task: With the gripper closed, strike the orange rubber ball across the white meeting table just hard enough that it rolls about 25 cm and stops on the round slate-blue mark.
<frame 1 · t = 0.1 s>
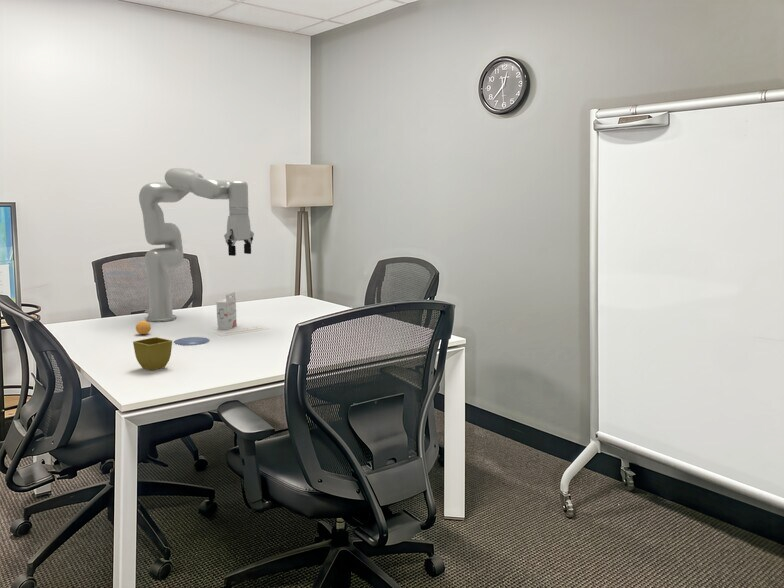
hand: (240, 254, 258), 31 cm above the table, tool pointing down, fingers open, 9 cm apart
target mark: (191, 341, 241), on the table
ball: (143, 327, 251), on the table
ink cartridge box: (227, 328, 266), on the table
flower pot: (154, 368, 204), on the table
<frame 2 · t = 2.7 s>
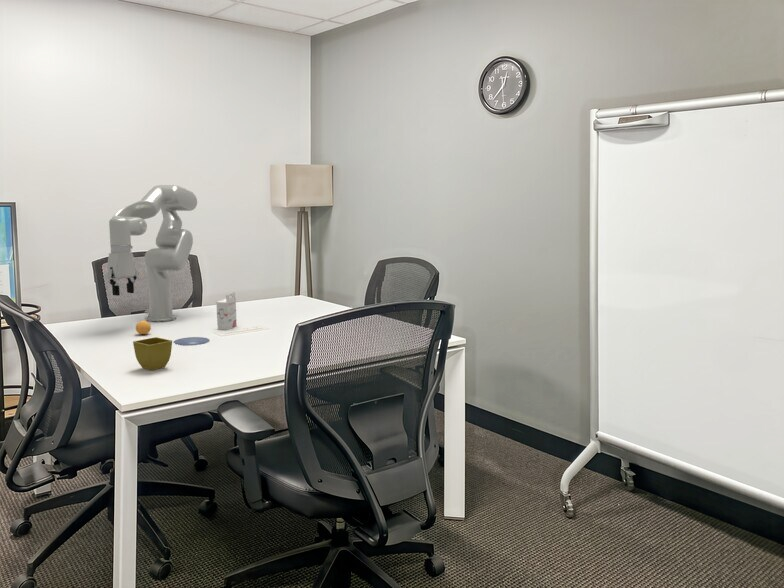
hand: (123, 293, 253), 16 cm above the table, tool pointing down, fingers open, 6 cm apart
nothing on the table moved.
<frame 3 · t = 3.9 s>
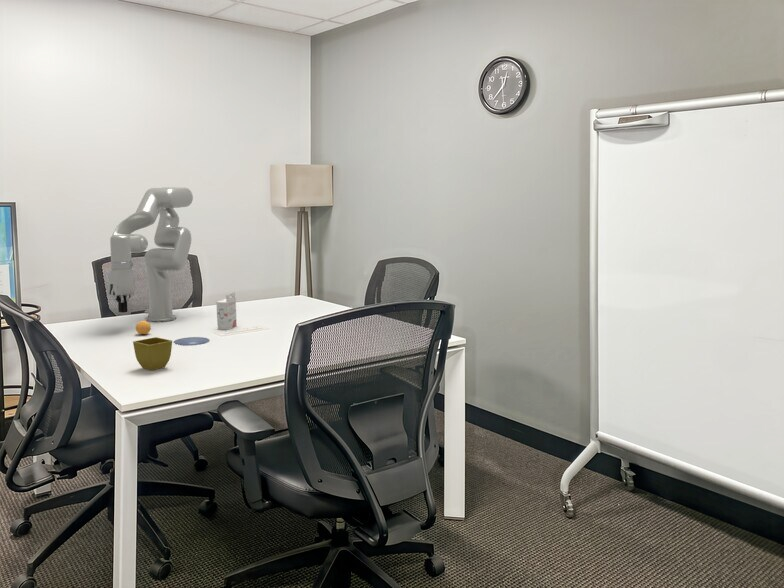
hand: (123, 311, 254), 8 cm above the table, tool pointing down, fingers closed
nothing on the table moved.
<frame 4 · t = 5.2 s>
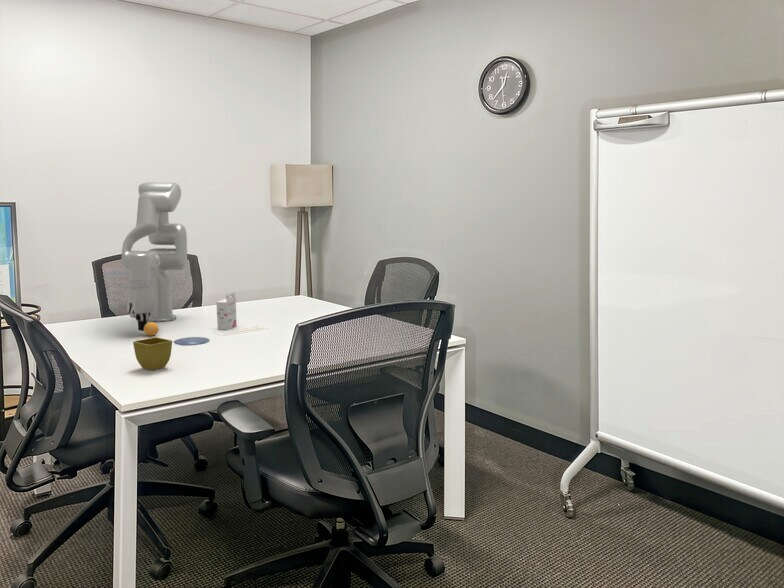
hand: (142, 330, 251), 2 cm above the table, tool pointing down, fingers closed
ball: (151, 328, 249), on the table
everything else where it was.
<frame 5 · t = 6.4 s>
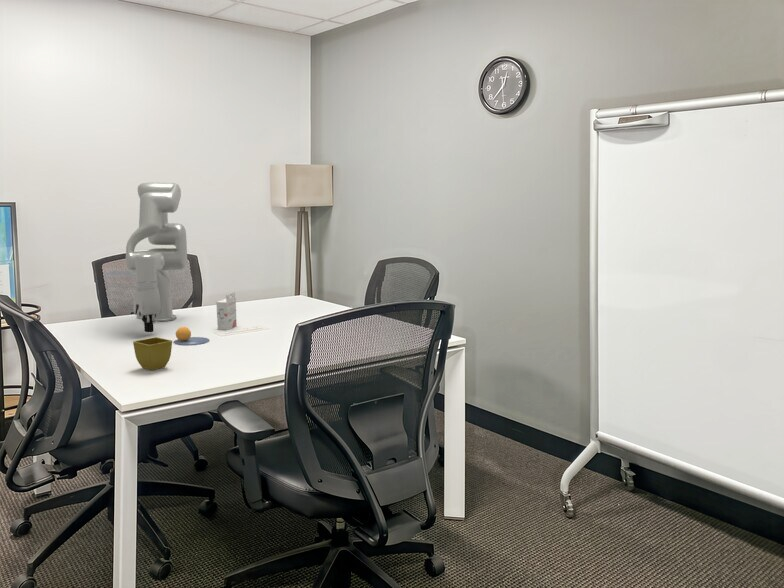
hand: (149, 331, 250), 2 cm above the table, tool pointing down, fingers closed
ball: (183, 334, 241), on the table
everything else where it was.
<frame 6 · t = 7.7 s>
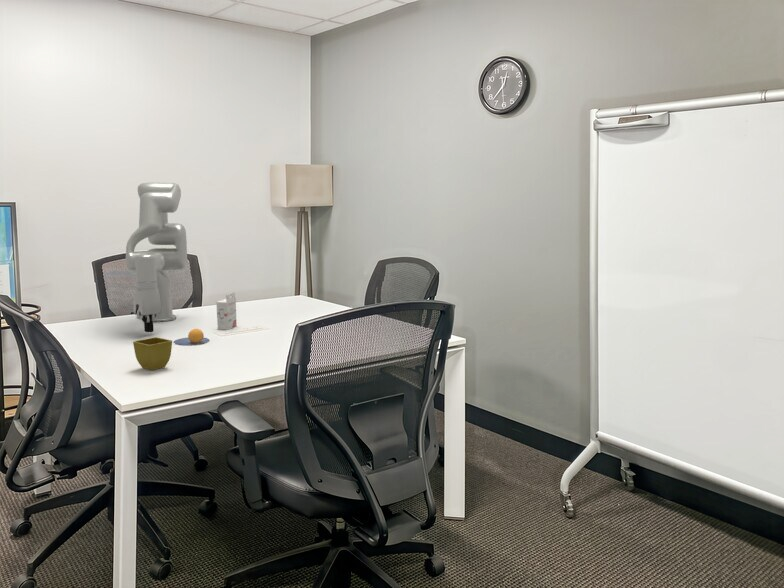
hand: (149, 331, 250), 2 cm above the table, tool pointing down, fingers closed
ball: (196, 335, 238), on the table
everything else where it was.
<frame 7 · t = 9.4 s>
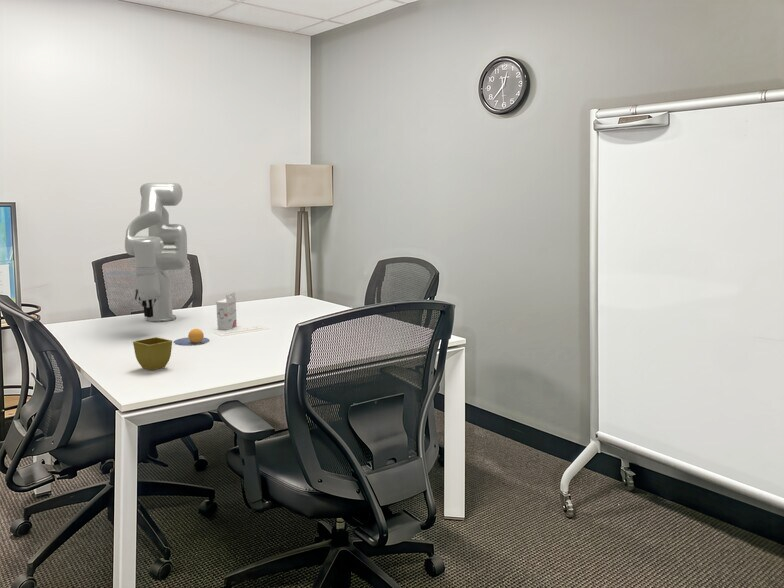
hand: (148, 316, 250), 7 cm above the table, tool pointing down, fingers closed
nothing on the table moved.
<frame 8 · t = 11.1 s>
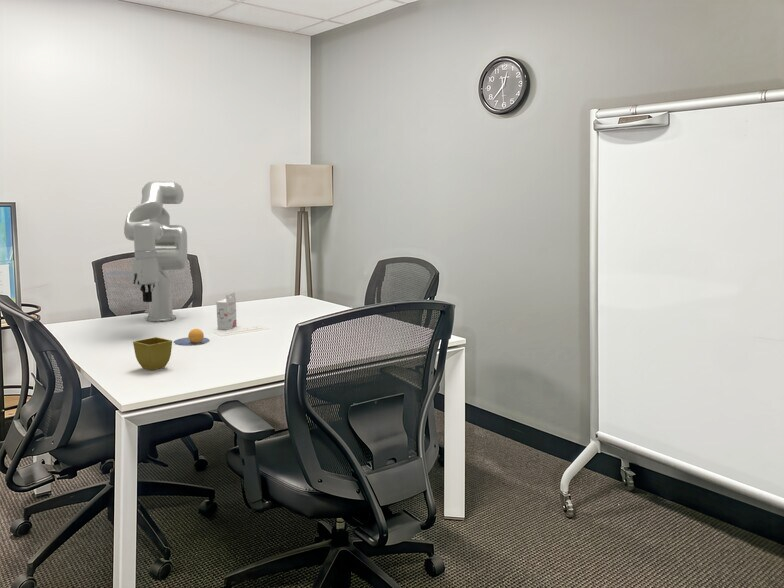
hand: (147, 301, 248), 14 cm above the table, tool pointing down, fingers closed
nothing on the table moved.
at the end: ball 3.8 cm from the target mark (horizontally); ball at rest at the end (0.0 cm/s); ball moved 28.6 cm from its start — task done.
